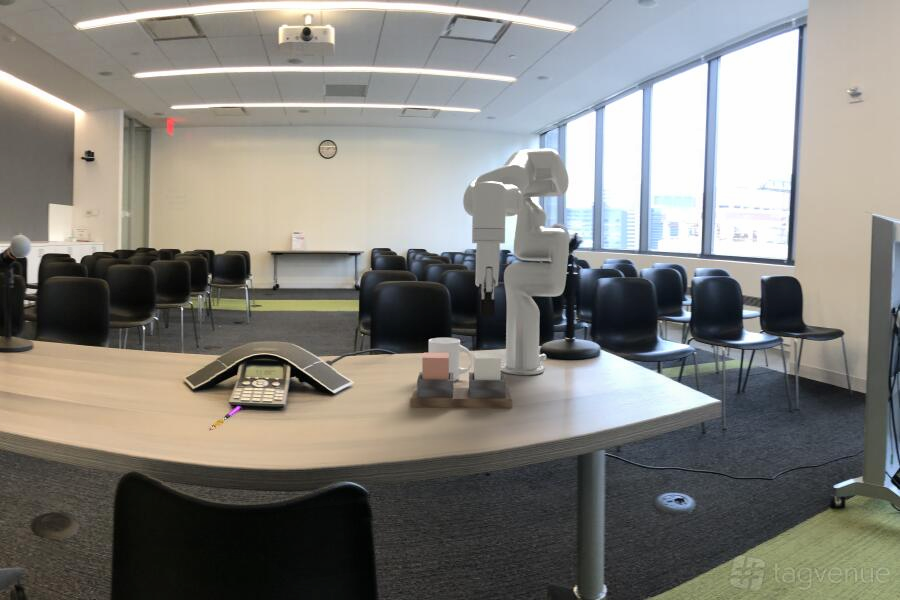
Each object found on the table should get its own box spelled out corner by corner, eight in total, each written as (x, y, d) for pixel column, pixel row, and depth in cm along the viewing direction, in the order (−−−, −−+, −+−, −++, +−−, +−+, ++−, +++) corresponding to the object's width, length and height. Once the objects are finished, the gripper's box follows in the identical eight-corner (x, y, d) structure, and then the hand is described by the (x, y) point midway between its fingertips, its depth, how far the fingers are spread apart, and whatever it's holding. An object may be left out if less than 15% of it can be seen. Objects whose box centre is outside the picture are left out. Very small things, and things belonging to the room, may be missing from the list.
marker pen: (239, 406, 130) (208, 431, 114) (240, 401, 130) (209, 425, 114) (251, 409, 130) (221, 434, 114) (252, 404, 130) (222, 428, 114)
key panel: (508, 395, 139) (508, 371, 139) (511, 407, 129) (512, 382, 129) (414, 395, 140) (414, 371, 139) (410, 406, 130) (410, 381, 129)
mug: (470, 383, 151) (470, 343, 150) (425, 381, 153) (425, 342, 152) (473, 376, 160) (474, 338, 159) (431, 374, 161) (431, 337, 160)
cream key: (498, 377, 137) (499, 353, 136) (500, 384, 131) (500, 358, 130) (473, 377, 137) (474, 353, 136) (474, 383, 131) (474, 358, 130)
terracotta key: (448, 377, 137) (448, 352, 136) (448, 383, 131) (448, 358, 130) (423, 377, 137) (423, 352, 136) (422, 383, 131) (422, 357, 131)
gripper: (471, 237, 138) (470, 312, 140) (473, 236, 123) (471, 320, 125) (502, 237, 138) (501, 313, 139) (507, 236, 123) (506, 320, 125)
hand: (487, 316), depth 132 cm, fingers closed
